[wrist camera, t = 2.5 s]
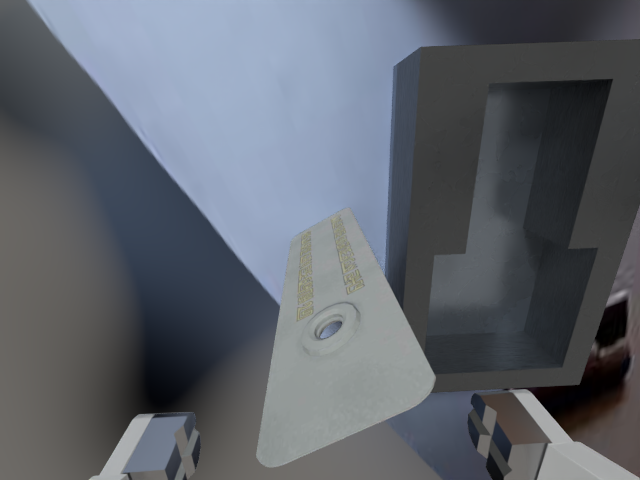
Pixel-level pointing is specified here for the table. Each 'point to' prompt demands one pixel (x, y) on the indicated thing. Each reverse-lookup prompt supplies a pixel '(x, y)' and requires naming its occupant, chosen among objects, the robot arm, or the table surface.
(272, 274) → the table surface
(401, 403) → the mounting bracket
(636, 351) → the table surface
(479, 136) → the desk organizer
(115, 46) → the table surface
